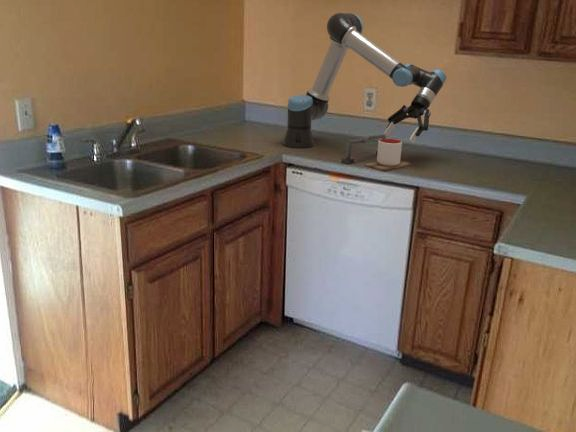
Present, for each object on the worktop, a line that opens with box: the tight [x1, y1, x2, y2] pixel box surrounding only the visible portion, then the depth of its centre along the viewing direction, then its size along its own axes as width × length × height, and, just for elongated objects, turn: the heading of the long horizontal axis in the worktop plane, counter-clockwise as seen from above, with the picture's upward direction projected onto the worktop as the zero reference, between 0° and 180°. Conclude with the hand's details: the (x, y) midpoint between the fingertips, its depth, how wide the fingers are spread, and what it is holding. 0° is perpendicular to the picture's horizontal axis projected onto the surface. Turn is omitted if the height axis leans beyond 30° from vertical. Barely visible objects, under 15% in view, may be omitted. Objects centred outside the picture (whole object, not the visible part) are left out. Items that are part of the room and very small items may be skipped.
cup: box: [376, 138, 403, 166], centre depth 234 cm, size 10×10×10 cm
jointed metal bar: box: [341, 134, 387, 165], centre depth 244 cm, size 5×28×10 cm, turn 132°
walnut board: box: [364, 160, 412, 172], centre depth 236 cm, size 11×18×1 cm, turn 132°
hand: (398, 138), depth 234 cm, fingers open, 13 cm apart
